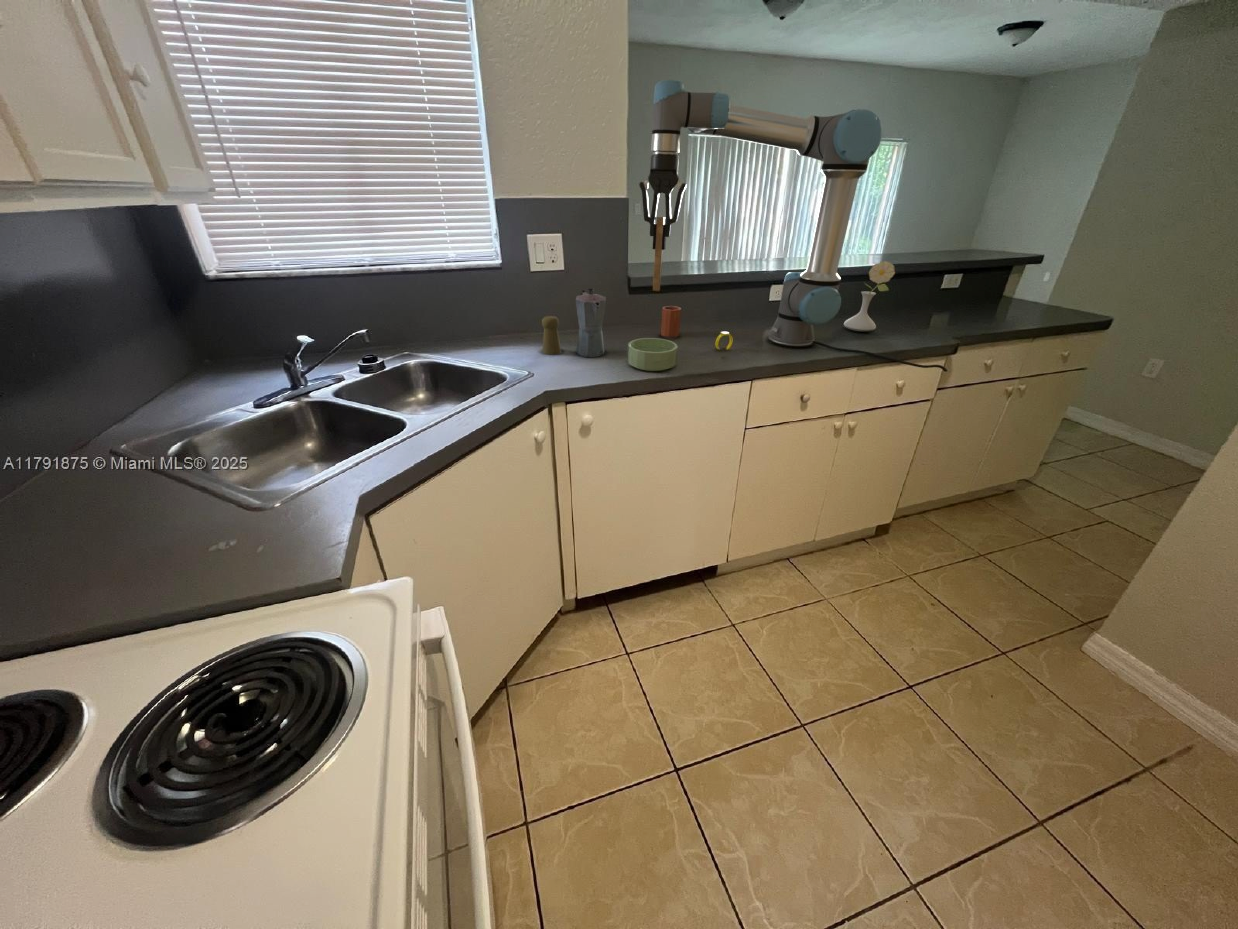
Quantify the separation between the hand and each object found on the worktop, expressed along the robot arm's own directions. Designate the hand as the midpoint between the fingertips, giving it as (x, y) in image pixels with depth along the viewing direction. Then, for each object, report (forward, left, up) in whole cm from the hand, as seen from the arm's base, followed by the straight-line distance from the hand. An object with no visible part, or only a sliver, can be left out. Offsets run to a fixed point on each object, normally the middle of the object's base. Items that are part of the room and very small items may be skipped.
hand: (658, 248), depth 142 cm
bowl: (-1, +13, -31) cm, 33 cm away
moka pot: (+20, +7, -31) cm, 37 cm away
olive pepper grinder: (+32, +9, -31) cm, 45 cm away
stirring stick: (0, 0, -12) cm, 12 cm away
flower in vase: (-73, -46, -31) cm, 92 cm away
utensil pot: (-3, -18, -31) cm, 36 cm away
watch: (-22, -7, -31) cm, 39 cm away
